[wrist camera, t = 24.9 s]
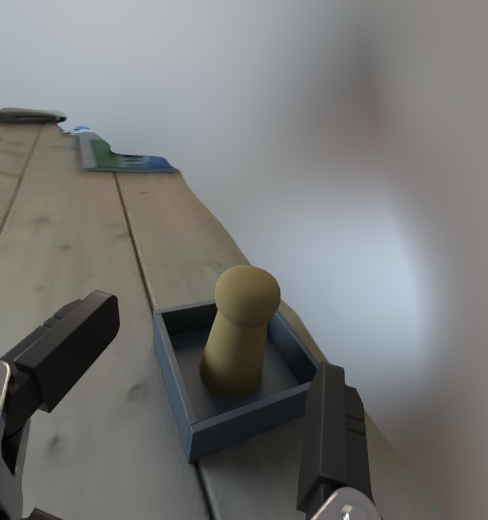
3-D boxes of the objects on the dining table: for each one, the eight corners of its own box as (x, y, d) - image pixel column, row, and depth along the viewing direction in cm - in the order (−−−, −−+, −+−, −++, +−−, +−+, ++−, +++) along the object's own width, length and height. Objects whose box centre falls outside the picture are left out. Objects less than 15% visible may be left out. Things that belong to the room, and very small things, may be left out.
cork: (272, 388, 28) (305, 297, 22) (209, 406, 25) (227, 309, 19) (247, 339, 32) (269, 252, 26) (192, 350, 30) (202, 257, 24)
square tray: (317, 409, 27) (332, 380, 25) (188, 464, 22) (192, 434, 20) (256, 317, 36) (263, 290, 34) (153, 341, 31) (153, 310, 28)
